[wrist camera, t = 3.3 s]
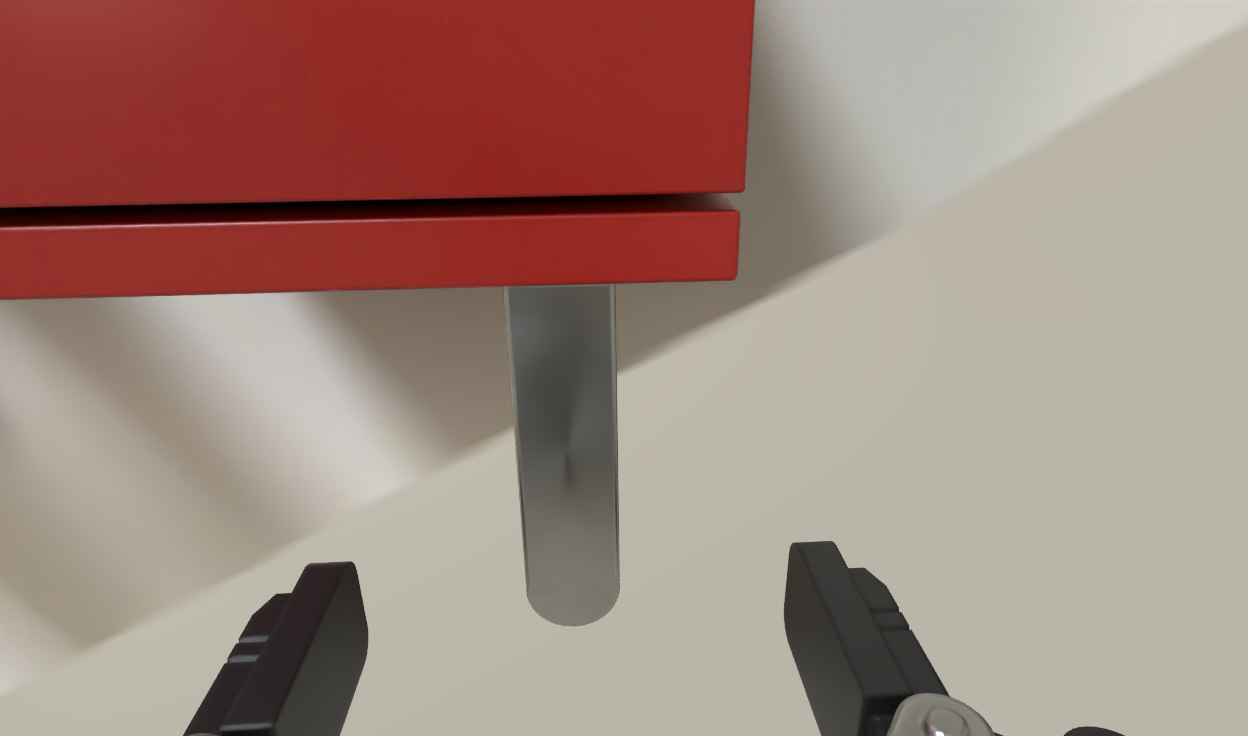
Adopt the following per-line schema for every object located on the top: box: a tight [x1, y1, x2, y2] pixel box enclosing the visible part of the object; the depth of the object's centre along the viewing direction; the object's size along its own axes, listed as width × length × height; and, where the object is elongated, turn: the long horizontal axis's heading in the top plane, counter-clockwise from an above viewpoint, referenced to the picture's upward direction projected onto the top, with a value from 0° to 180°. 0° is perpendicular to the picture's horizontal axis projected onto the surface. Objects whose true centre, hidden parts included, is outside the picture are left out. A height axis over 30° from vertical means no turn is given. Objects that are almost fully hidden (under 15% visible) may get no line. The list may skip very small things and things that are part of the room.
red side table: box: [0, 193, 740, 626], centre depth 21 cm, size 7×18×22 cm, turn 90°
